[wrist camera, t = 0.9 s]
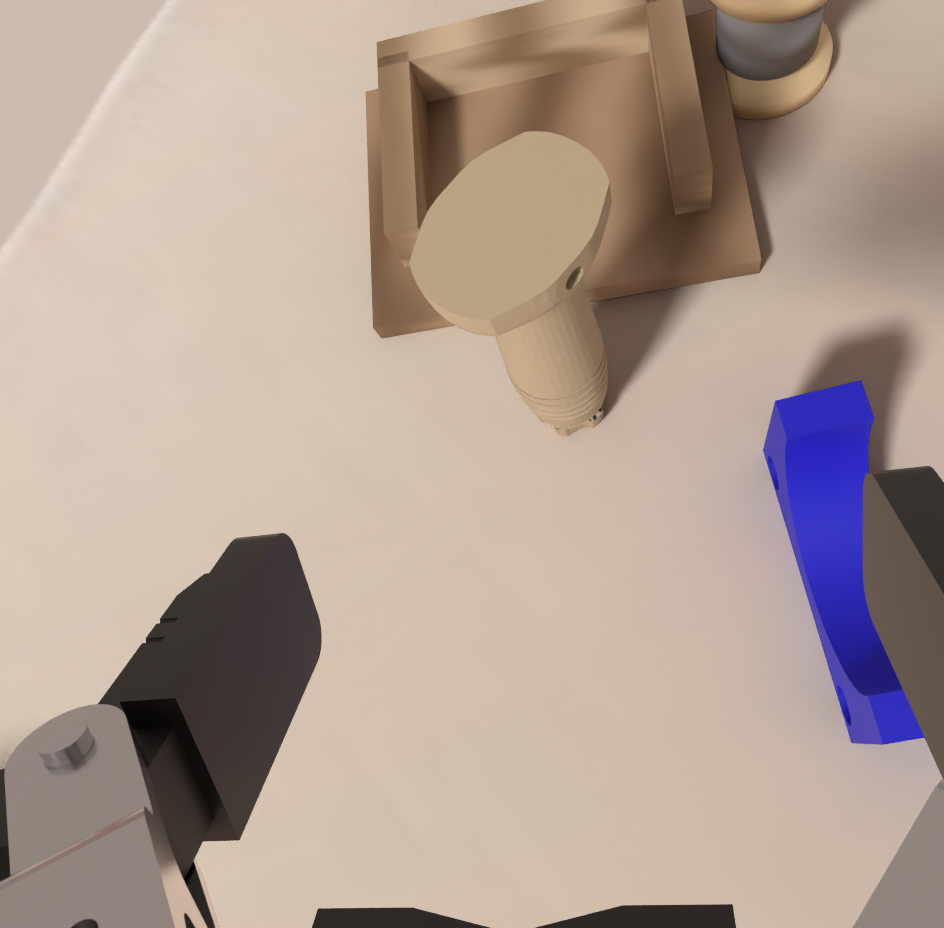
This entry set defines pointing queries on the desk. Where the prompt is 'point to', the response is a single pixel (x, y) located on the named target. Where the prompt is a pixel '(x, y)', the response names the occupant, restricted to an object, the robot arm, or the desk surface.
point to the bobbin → (772, 54)
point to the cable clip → (837, 549)
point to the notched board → (571, 115)
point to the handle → (525, 268)
